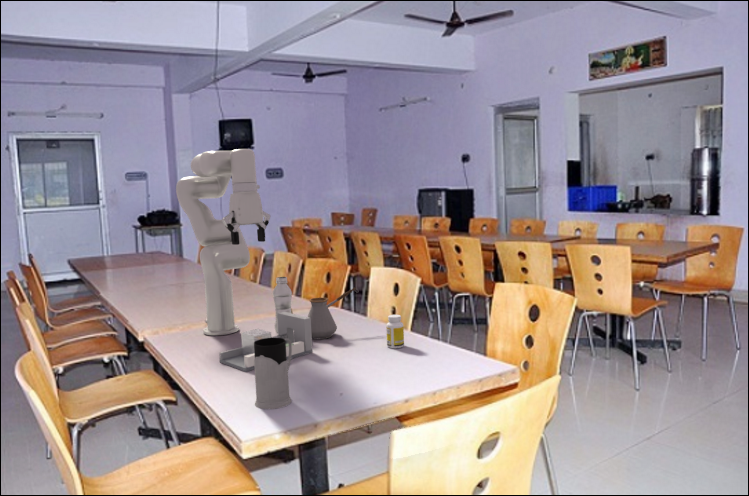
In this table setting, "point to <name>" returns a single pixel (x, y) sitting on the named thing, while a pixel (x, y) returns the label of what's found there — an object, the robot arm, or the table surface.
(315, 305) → the coffee pot
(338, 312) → the table surface
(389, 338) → the supplement bottle
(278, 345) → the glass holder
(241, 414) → the table surface
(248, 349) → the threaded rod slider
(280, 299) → the plastic bottle
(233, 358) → the track
